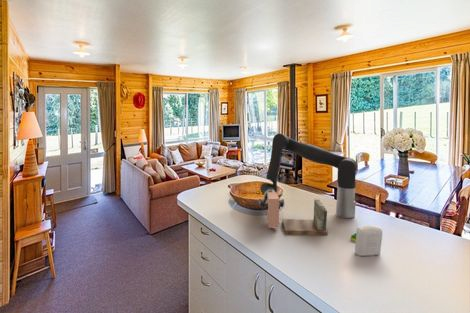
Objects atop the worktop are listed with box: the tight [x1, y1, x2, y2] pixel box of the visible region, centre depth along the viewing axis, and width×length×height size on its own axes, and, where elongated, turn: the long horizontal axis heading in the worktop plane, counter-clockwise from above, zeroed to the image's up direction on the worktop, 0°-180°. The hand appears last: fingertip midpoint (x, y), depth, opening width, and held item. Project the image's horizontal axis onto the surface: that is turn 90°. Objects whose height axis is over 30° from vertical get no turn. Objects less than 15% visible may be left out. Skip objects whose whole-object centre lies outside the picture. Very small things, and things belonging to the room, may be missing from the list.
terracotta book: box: [266, 191, 280, 229], centre depth 134 cm, size 5×11×15 cm, turn 176°
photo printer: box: [354, 224, 383, 257], centre depth 108 cm, size 10×4×12 cm, turn 98°
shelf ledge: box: [282, 198, 329, 236], centre depth 132 cm, size 20×14×14 cm
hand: (273, 207), depth 133 cm, fingers closed on terracotta book, 5 cm apart
